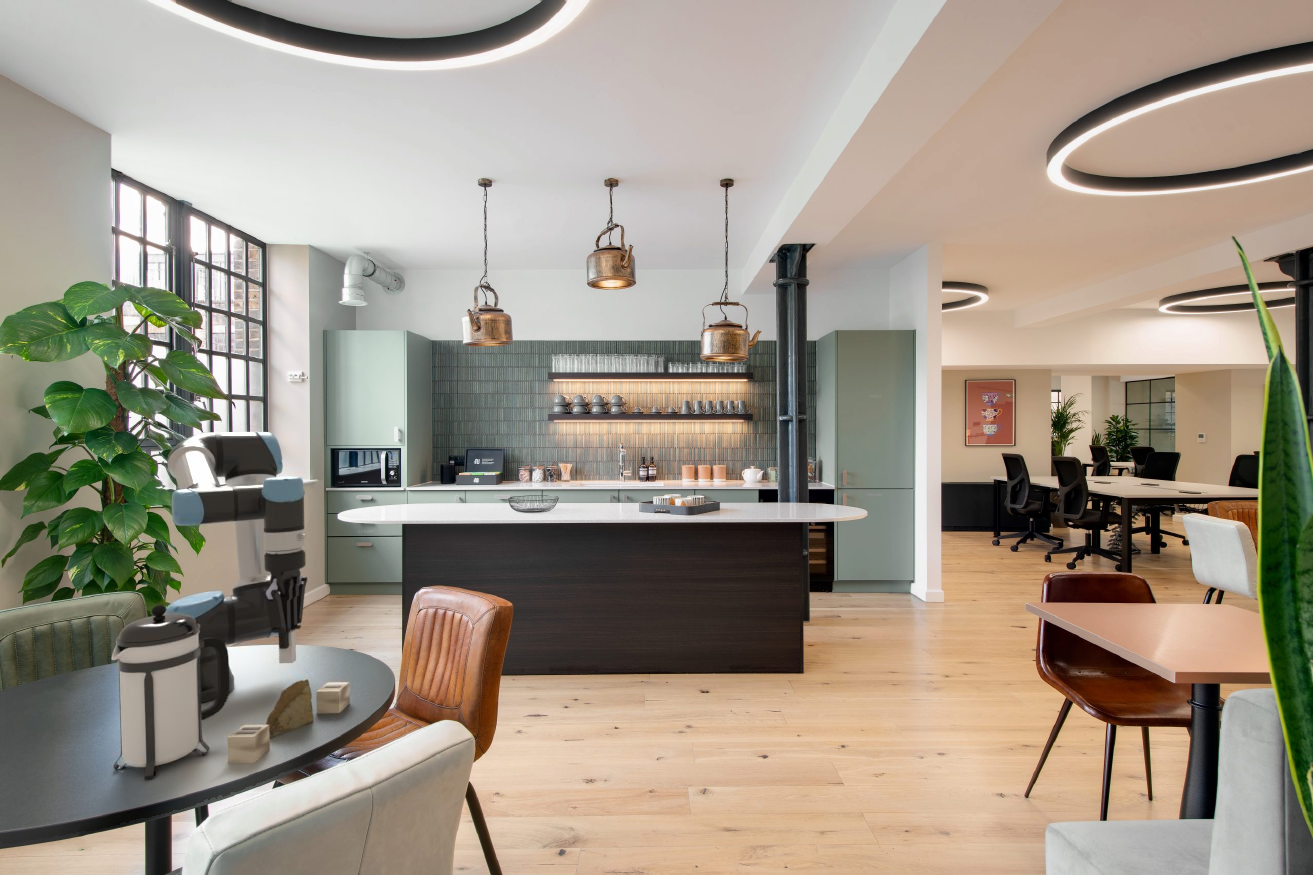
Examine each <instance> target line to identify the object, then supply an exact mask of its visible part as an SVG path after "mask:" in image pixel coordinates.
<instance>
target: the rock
mask: <svg viewBox="0 0 1313 875" xmlns="http://www.w3.org/2000/svg"><path fill="white" fill-rule="evenodd" d="M312 698H313V696H312V688H311V687H310V681H309V680H308V679H305V680H297V681H296V682H294V683H292V684H291V685H288V687H287V688H285V689H283V690H282V691H281V693H280V696H279V699H278V701H277V702H276V704H275V706H274V708H273V710H272V711H271V712H270V713H269V714H268V717H267V718H266V723H265V725H269V738H273V737H275V736H278V735H282V734H285V733H287V732H289V731H291V730H296V729H298V728H301V727H302V726H304V725H306V724H310V723H311V722H313V721H314V713H313V712H314V710H313V704H312Z"/></svg>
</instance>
